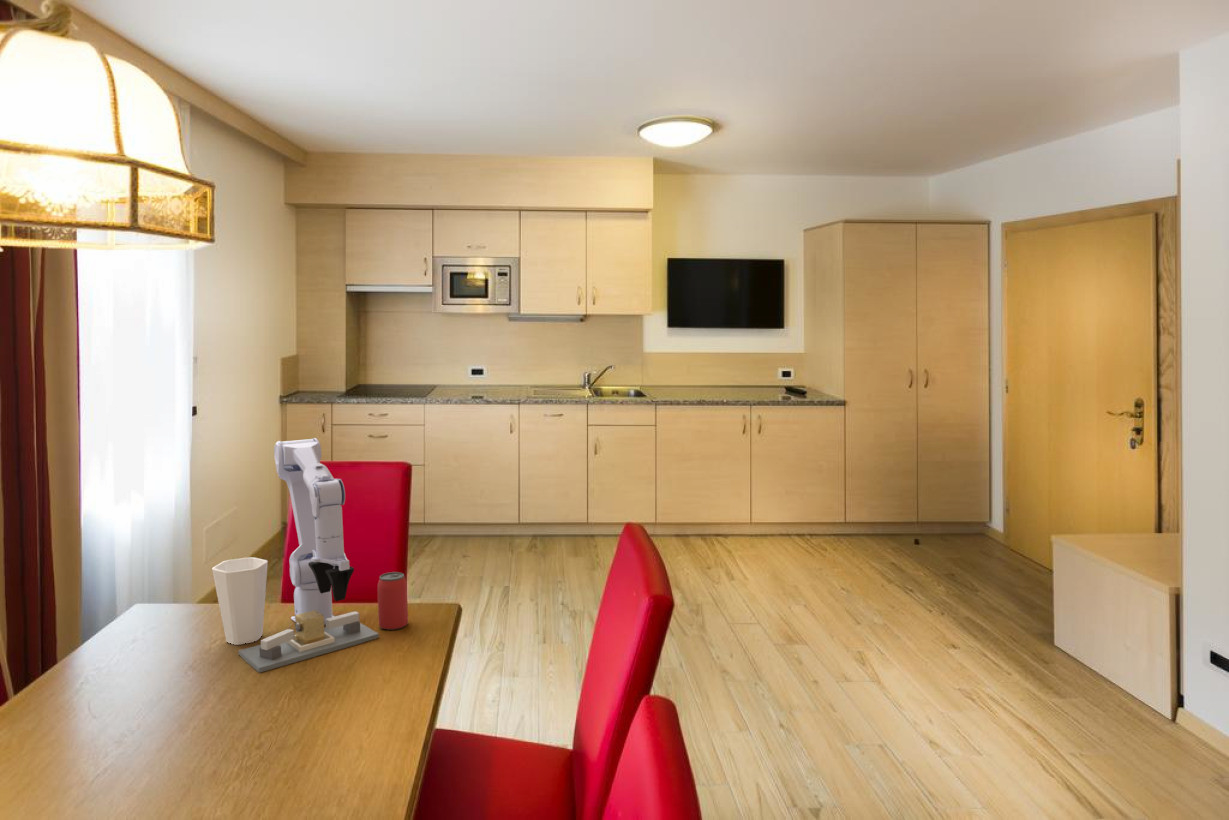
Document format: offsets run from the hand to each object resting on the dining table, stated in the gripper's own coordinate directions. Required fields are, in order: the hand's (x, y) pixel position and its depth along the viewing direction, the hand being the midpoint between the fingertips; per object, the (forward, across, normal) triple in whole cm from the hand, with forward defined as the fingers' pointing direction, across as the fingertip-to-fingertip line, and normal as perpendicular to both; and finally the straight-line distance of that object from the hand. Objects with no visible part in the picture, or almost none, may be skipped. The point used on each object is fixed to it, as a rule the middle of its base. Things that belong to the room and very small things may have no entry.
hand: (332, 596), depth 176 cm
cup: (+10, -16, -14) cm, 23 cm away
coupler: (+9, -1, -5) cm, 11 cm away
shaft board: (+10, -1, -5) cm, 12 cm away
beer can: (+11, 0, +14) cm, 18 cm away
